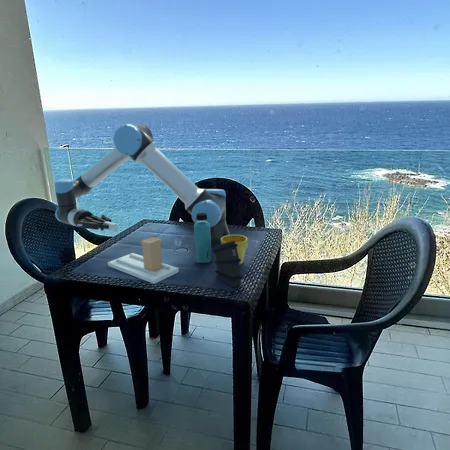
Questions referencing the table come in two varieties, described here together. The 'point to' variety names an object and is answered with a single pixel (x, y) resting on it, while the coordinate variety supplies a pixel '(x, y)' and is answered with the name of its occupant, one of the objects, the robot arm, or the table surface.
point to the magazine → (228, 263)
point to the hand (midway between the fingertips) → (115, 227)
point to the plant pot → (239, 240)
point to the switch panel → (142, 268)
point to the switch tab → (152, 253)
